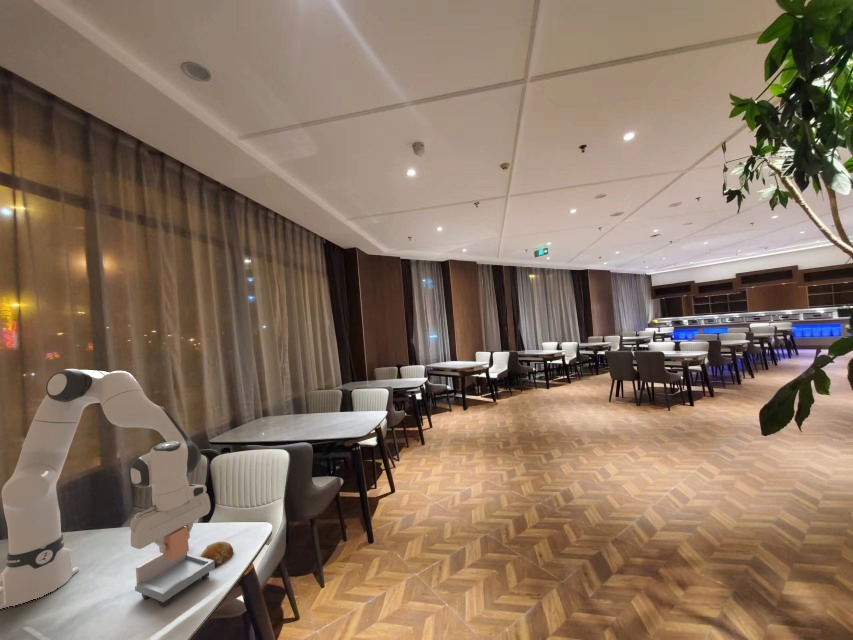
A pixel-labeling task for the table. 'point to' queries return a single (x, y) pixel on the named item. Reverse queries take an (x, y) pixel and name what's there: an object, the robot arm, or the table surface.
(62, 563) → the robot arm
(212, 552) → the bread roll
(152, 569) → the grey open tray
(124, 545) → the table surface
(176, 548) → the block
